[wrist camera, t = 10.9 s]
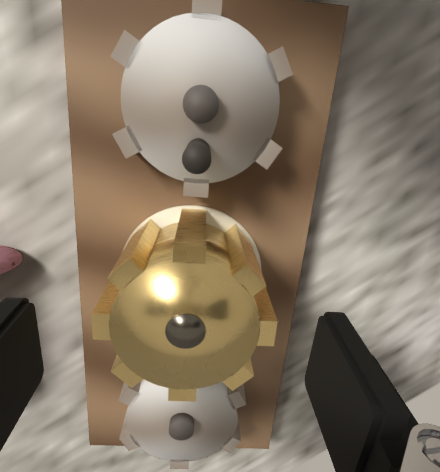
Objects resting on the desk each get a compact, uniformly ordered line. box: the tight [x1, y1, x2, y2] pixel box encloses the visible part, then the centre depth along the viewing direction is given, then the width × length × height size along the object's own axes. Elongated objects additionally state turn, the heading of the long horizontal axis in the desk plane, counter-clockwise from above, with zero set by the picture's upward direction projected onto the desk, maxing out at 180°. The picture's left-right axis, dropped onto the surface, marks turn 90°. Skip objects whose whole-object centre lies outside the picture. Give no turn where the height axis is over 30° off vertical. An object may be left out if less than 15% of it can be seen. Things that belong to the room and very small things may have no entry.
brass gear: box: [91, 208, 278, 402], centre depth 16 cm, size 7×7×5 cm
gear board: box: [61, 0, 349, 469], centre depth 17 cm, size 26×12×6 cm, turn 175°
